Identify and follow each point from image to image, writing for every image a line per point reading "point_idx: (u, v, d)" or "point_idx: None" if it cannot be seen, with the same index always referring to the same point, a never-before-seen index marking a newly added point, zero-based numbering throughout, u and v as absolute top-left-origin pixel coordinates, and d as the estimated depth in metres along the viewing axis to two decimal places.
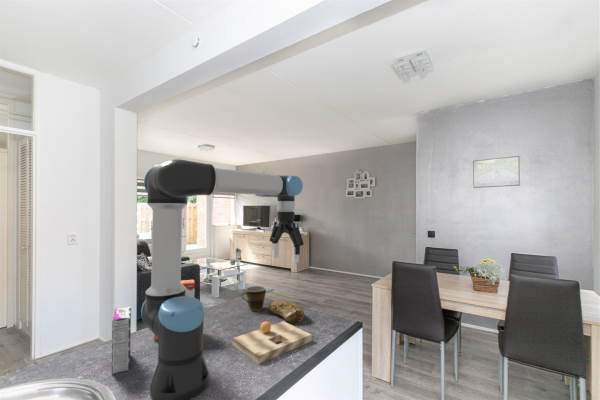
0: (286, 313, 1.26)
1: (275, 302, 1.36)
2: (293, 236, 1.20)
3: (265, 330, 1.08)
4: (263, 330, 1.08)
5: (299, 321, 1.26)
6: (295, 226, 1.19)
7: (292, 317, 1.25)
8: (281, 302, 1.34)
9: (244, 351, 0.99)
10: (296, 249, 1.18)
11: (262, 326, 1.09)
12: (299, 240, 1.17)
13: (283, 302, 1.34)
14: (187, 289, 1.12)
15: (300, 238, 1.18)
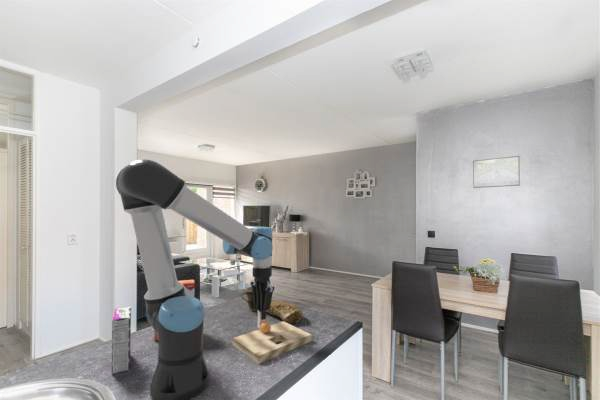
0: (284, 314, 1.25)
1: (272, 303, 1.35)
2: (263, 299, 1.11)
3: (265, 330, 1.08)
4: (263, 330, 1.08)
5: (297, 322, 1.26)
6: (269, 291, 1.08)
7: (290, 318, 1.24)
8: (278, 303, 1.33)
9: (244, 351, 0.99)
10: (262, 314, 1.11)
11: (262, 326, 1.09)
12: (266, 306, 1.09)
13: (280, 303, 1.33)
14: (187, 289, 1.12)
15: (268, 303, 1.09)
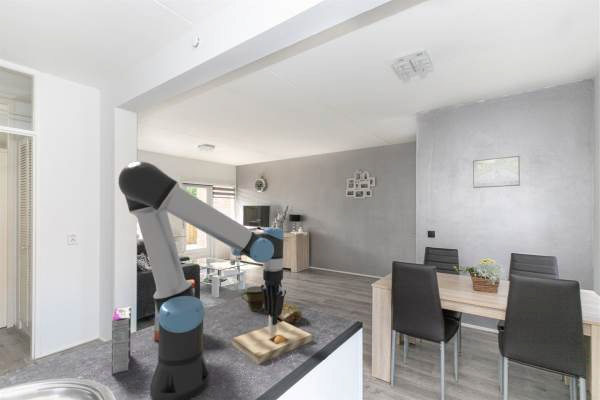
0: (283, 314, 1.25)
1: None
2: (275, 303, 1.06)
3: (276, 338, 1.03)
4: (276, 340, 1.03)
5: (296, 322, 1.26)
6: (281, 295, 1.03)
7: (290, 318, 1.24)
8: None
9: (244, 351, 0.99)
10: (273, 319, 1.06)
11: (274, 342, 1.03)
12: (278, 311, 1.04)
13: None
14: None
15: (280, 308, 1.04)
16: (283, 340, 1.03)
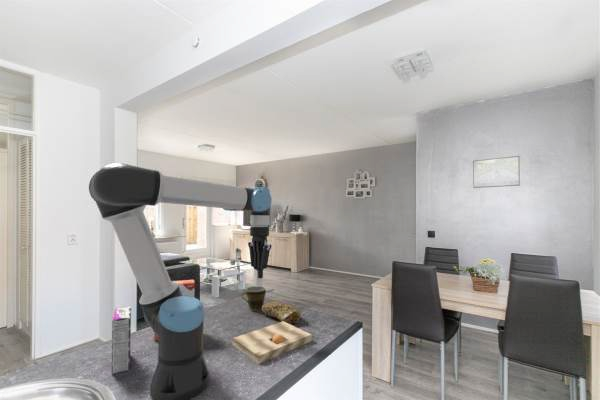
0: (282, 315, 1.24)
1: (269, 304, 1.33)
2: (260, 258, 1.12)
3: (273, 337, 1.05)
4: (273, 338, 1.04)
5: (295, 322, 1.25)
6: (266, 249, 1.09)
7: (289, 319, 1.23)
8: (275, 304, 1.32)
9: (244, 351, 0.99)
10: (259, 272, 1.12)
11: None
12: (263, 264, 1.10)
13: (277, 304, 1.32)
14: (187, 289, 1.12)
15: (265, 262, 1.10)
16: (280, 336, 1.04)
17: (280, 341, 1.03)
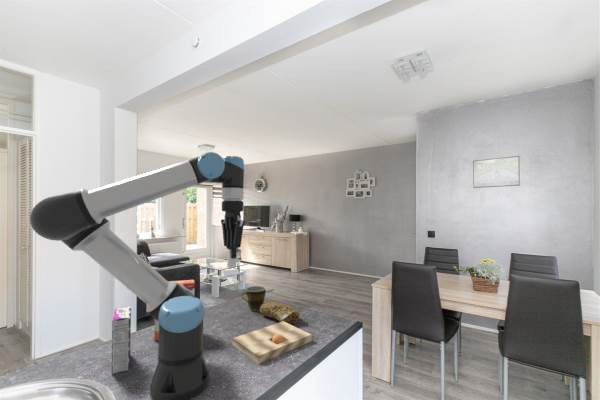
0: (281, 315, 1.24)
1: (267, 305, 1.32)
2: (233, 235, 0.99)
3: (273, 337, 1.05)
4: (273, 338, 1.04)
5: (294, 323, 1.25)
6: (239, 225, 0.97)
7: (288, 319, 1.23)
8: (274, 304, 1.31)
9: (244, 351, 0.99)
10: (232, 252, 1.00)
11: None
12: (236, 242, 0.98)
13: (276, 304, 1.31)
14: (187, 289, 1.12)
15: (238, 240, 0.98)
16: (279, 336, 1.04)
17: (280, 340, 1.03)
